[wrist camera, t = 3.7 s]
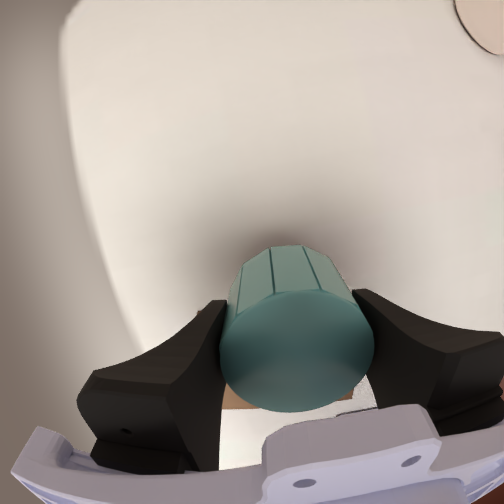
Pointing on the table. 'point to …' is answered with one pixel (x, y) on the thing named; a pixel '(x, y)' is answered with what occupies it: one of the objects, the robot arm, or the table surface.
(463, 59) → the table surface
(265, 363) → the cap
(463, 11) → the can
